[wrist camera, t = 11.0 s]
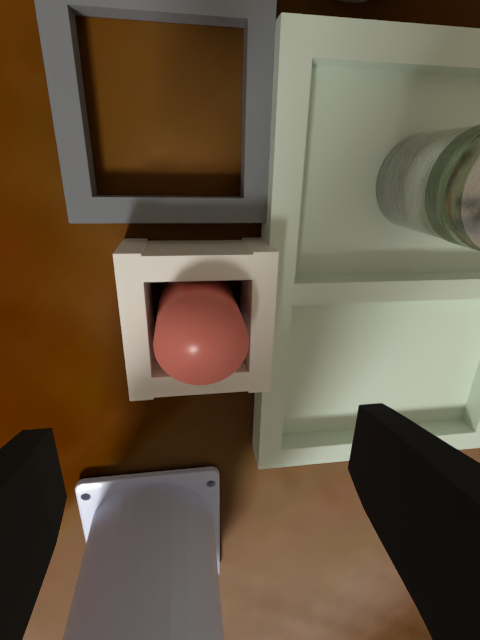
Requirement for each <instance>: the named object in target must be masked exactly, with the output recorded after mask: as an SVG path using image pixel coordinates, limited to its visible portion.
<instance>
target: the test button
mask: <svg viewBox="0 0 480 640" xmlns="http://www.w3.org/2000/svg"><path fill="white" fill-rule="evenodd" d="M248 347H249V335H248V331H247V328H246V325H245V322H244V320H243V317H242V315H241V312H240V310H239V307H238V305H237V302H236V300H235V297H234V295H233V292H232V290H231V288H230V287H229V285H228V284H227V283H226V282H225V281H224V280H221V281H179V282H168V283H167V285H166V286H165V287H164V289H163V291H162V293H161V296H160V300H159V306H158V313H157V319H156V326H155V332H154V339H153V349H154V354H155V357H156V359H157V361H158V363H159V365H160V366H161V368H162V369H163V370H164V371H165V372H166V373H167V374H168V375H169V376H171V377H172V378H174V379H176V380H178V381H180V382H183V383H186V384H190V385H209V384H213V383H216V382H219V381H222V380H224V379H226V378H227V377H229V376H230V375H232V374H233V373H234V372H235V371H236V370H237V369H238V368H239V367H240V366H241V364H242V363H243V361H244V359H245V357H246V355H247V352H248Z"/></svg>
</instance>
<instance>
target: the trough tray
mask: <svg viewBox="0 0 480 640" xmlns="http://www.w3.org/2000/svg"><path fill="white" fill-rule="evenodd" d="M478 124H480V28H468V27H456V26H443V25H431V24H419V23H406V22H394V21H382V20H369V19H357V18H345V17H333V16H320V15H308V14H296V13H283V12H281V14H280V15H279V17H278V18H277V20H276V28H275V49H274V71H273V93H272V114H271V136H270V157H269V179H268V200H267V222H266V223H262V227H261V238H262V239H263V240H264V241H265V242H266V243H268V244H269V245H272V246H273V247H274V248H275V249H276V250H278V251H279V259H278V275H277V291H276V308H275V324H274V341H273V357H272V373H271V390H270V392H257V393H255V396H254V420H253V444H252V447H253V451H254V455H255V459H256V463H257V466H258V469H267V468H277V467H288V466H298V465H308V464H318V463H328V462H339V461H349V459H350V453H351V448H352V442H353V436H354V430H355V425H356V419H357V413H358V407H359V405H363V404H376V403H383V404H385V405H386V406H388V407H390V408H392V409H393V410H395V411H397V412H398V413H400V414H402V415H403V416H405V417H407V418H408V419H410V420H411V421H413V422H415V423H416V424H418V425H419V426H421V427H422V428H424V429H426V430H427V431H429V432H430V433H432V434H433V435H435V436H437V437H438V438H440V439H441V440H443V441H445V442H446V443H448V444H449V445H451V446H452V447H454V448H456V449H457V450H461V449H471V448H480V251H477V250H473V249H470V248H467V247H463V246H460V245H457V244H453V243H451V242H448V241H446V240H444V239H441V238H438V237H435V236H431V235H428V234H424V233H421V232H418V231H414V230H411V229H407V228H404V227H401V226H398V225H395V224H393V223H392V222H390V221H389V220H388V219H387V218H386V217H385V216H384V215H383V213H382V212H381V210H380V208H379V206H378V203H377V198H376V181H377V176H378V172H379V169H380V167H381V164H382V163H383V161H384V159H385V157H386V156H387V154H388V153H389V152H390V151H391V149H392V148H393V147H394V146H395V145H396V144H398V143H399V142H400V141H402V140H403V139H405V138H406V137H408V136H410V135H413V134H416V133H420V132H427V131H435V130H444V129H452V128H460V127H468V126H476V125H478Z"/></svg>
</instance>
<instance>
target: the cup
mask: <svg viewBox="0 0 480 640" xmlns="http://www.w3.org/2000/svg"><path fill="white" fill-rule="evenodd" d="M336 1H338V2H344V3H363V2H368V1H371V0H336Z"/></svg>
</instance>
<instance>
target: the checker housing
mask: <svg viewBox="0 0 480 640" xmlns="http://www.w3.org/2000/svg"><path fill="white" fill-rule="evenodd" d="M278 259H279V251H278V250H276V249H275V248H274V247H273V246H272V245H269V244H268V243H266V242H265V241H264V240H263V239H262V238H261V237H256V238H242V240H158V241H148V238H124V239H123V241H122V242H121V243H120V245H119V246H118V247H117V249H116V250H115V252H114V253H113V261H114V269H115V278H116V287H117V296H118V304H119V313H120V322H121V330H122V339H123V348H124V356H125V365H126V374H127V382H128V391H129V400H130V401H139V400H153V399H154V398H155V397H170V396H184V395H199V394H214V393H229V392H244V391H248V392H249V393H257V392H270V390H271V373H272V357H273V341H274V324H275V308H276V291H277V275H278ZM221 280H241V295H240V312H241V315H242V317H243V320H244V322H245V325H246V328H247V331H248V335H249V347H248V352H247V355H246V357H245V359H244V361H243V363H242V364H241V366H240V367H239V368H238V369H237V370H236V371H235V372H234V373H233V374H232V375H230V376H229V377H227V378H226V379H224V380H222V381H219V382H216V383H213V384H209V385H190V384H186V383H183V382H180V381H178V380H176V379H174V378H172V377H171V376H169V375H168V374H167V373H166V372H165V371H164V370H163V369H162V368H161V366H160V365H159V363H158V361H157V359H156V357H155V354H154V349H153V339H154V332H155V328H154V315H153V302H152V289H151V282H179V281H221Z"/></svg>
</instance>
